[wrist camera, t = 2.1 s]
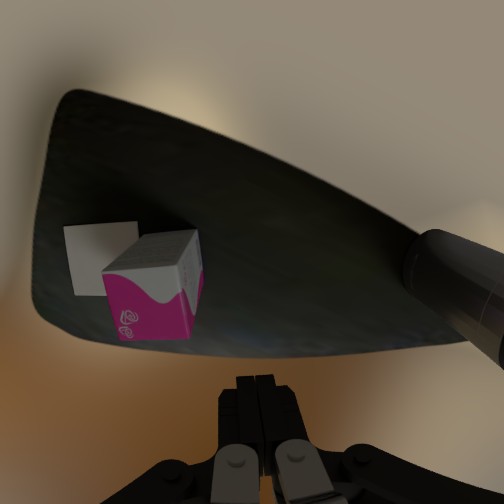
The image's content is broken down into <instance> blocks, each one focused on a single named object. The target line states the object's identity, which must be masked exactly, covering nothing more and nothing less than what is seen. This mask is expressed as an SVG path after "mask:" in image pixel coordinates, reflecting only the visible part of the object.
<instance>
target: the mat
mask: <svg viewBox="0 0 504 504" xmlns="http://www.w3.org/2000/svg"><path fill="white" fill-rule="evenodd" d="M64 234H65V242H66V249H67V255H68V261H69V267H70V273H71V278H72V283H73V288H74V293H75V295H93V296H107V294H106V290H105V286H104V282H103V278H102V274H101V271H102V270H103V269H104V268H105V267H107V266H108V265H109V264H110V263H111V262H112V261H113V260H115V259H116V258H117V257H118V256H119V255H120V254H122V253H123V252H124V251H125V250H126V249H128V248H129V247H130V246H131V245H132V244H134V243H135V242H136V241H137V240H138V239H139V231H138V221H133V222H117V223H102V224H88V225H75V226H64Z"/></svg>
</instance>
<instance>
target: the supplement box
mask: <svg viewBox="0 0 504 504" xmlns="http://www.w3.org/2000/svg"><path fill="white" fill-rule="evenodd" d="M101 274H102V278H103V282H104V286H105V290H106V294H107V298H108V302H109V306H110V309H111V313H112V317H113V320H114V323H115V327H116V330H117V333H118V337H119V340H164V339H189V338H190V336H191V332H192V327H193V323H194V319H195V314H196V310H197V306H198V302H199V297H200V293H201V290H202V285H203V282H204V273H203V264H202V256H201V248H200V241H199V234H198V229H186V230H177V231H167V232H157V233H147V234H144V235H143V236H142V237H141V238H139V239H138V240H137V241H136V242H135V243H134V244H132V245H131V246H130V247H129V248H128V249H126V250H125V251H124V252H123V253H122V254H120V255H119V256H118V257H117V258H116V259H115V260H113V261H112V262H111V263H110V264H109V265H108V266H107V267H105V268H104V269H103V270H102V271H101Z"/></svg>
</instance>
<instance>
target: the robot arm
mask: <svg viewBox="0 0 504 504" xmlns="http://www.w3.org/2000/svg"><path fill="white" fill-rule="evenodd" d="M402 275H403V282H404V285H405V288H406V289H407V291H408V292H409V293H410V294H411V295H412V296H413V297H415V298H416V299H417V300H419V301H420V302H421V303H422V304H424V305H425V306H426V307H427V308H429V309H430V310H431V311H433V312H434V313H435V314H436V315H438V316H439V317H440V318H441V319H443V320H444V321H445V322H447V323H448V324H449V325H450V326H452V327H453V328H454V329H455V330H457V331H458V332H459V333H460V334H461V335H463V336H464V337H465V338H466V339H468V340H469V341H470V342H471V343H473V344H474V345H475V346H476V347H477V348H478V349H480V350H481V351H482V352H483V353H485V354H486V355H487V356H488V357H489V358H491V359H492V360H493V361H494V362H495V363H496V364H497V365H499V366H500V367H501V368H502V369H503V370H504V254H503V253H500V252H498V251H496V250H493V249H491V248H488V247H486V246H483V245H480V244H478V243H475V242H473V241H470V240H467V239H465V238H462V237H460V236H457V235H454V234H451V233H449V232H446V231H443V230H440V229H431V230H428V231H426V232H424V233H422V234H421V235H420V236H419V237H417V238H416V239H415V241H414V242H413V243H412V244H411V246H410V248H409V250H408V251H407V254H406V257H405V259H404V264H403V274H402ZM236 383H237V389H224V390H223V391H222V393H221V394H220V396H219V398H218V449H217V451H216V453H215V455H214V456H213V457H211V458H210V459H209V460H207V461H205V462H202V463H198V464H194V465H187V464H186V463H184V462H182V461H180V460H174V459H173V460H172V459H169V460H164V461H161V462H159V463H157V464H156V465H155V466H153V467H152V468H151V469H149V470H148V471H146V472H145V473H144V474H143V475H141V476H140V477H138V478H137V479H135V480H134V481H133V482H131V483H130V484H128V485H127V486H125V487H124V488H123V489H121V490H120V491H118V492H117V493H115V494H114V495H112V496H111V497H109V498H108V499H106V500H105V501H103V502H102V503H100V504H259V491H260V477H261V476H263V467H264V473H265V476H271V477H272V483H273V488H272V492H273V496H274V500H275V504H504V494H501V493H497V492H493V491H490V490H486V489H483V488H479V487H476V486H473V485H470V484H466V483H464V482H461V481H458V480H454V479H452V478H449V477H446V476H443V475H441V474H438V473H435V472H433V471H430V470H427V469H425V468H422V467H420V466H417V465H415V464H412V463H410V462H408V461H405V460H403V459H401V458H398V457H396V456H394V455H391V454H389V453H387V452H385V451H383V450H380V449H378V448H376V447H374V446H372V445H369V444H355V445H352V446H350V447H349V448H347V449H346V450H345V451H344V452H331V451H324V450H321V449H319V448H317V447H315V446H314V445H313V444H312V443H311V442H310V441H309V439H308V436H307V432H306V429H305V426H304V423H303V420H302V416H301V413H300V410H299V407H298V404H297V400H296V396H295V393H294V392H293V391H292V390H291V389H290V388H289V387H288V386H287V385H283V386H276V384H275V379H274V376H273V374H270V375H256V376H255V379H254V376H239V377H236Z"/></svg>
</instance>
